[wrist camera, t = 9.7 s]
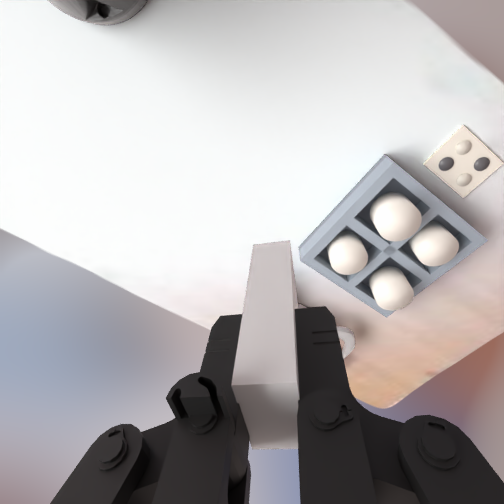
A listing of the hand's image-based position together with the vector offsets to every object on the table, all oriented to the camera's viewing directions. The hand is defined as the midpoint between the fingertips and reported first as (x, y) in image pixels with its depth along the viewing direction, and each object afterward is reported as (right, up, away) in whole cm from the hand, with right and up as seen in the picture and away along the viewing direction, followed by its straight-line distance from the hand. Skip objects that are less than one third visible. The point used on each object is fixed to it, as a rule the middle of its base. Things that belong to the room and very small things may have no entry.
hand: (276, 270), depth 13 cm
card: (+27, +13, +28) cm, 41 cm away
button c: (+18, +6, +29) cm, 34 cm away
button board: (+19, +3, +34) cm, 39 cm away
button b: (+20, -4, +35) cm, 40 cm away
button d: (+13, +2, +34) cm, 37 cm away
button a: (+25, +3, +32) cm, 41 cm away
